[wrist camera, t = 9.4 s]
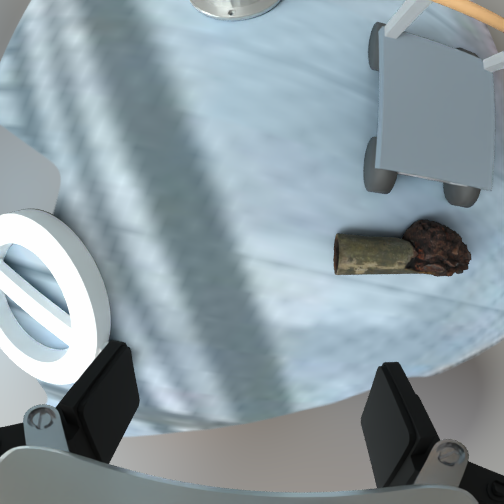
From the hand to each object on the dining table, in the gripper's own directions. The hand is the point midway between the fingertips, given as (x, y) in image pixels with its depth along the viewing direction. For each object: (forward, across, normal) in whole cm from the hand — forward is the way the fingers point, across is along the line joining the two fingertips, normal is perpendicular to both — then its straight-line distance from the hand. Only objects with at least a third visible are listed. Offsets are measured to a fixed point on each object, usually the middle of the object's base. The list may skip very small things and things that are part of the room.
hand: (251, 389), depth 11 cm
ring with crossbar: (+28, +35, +12) cm, 47 cm away
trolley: (+28, -17, -15) cm, 36 cm away
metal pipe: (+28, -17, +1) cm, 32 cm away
